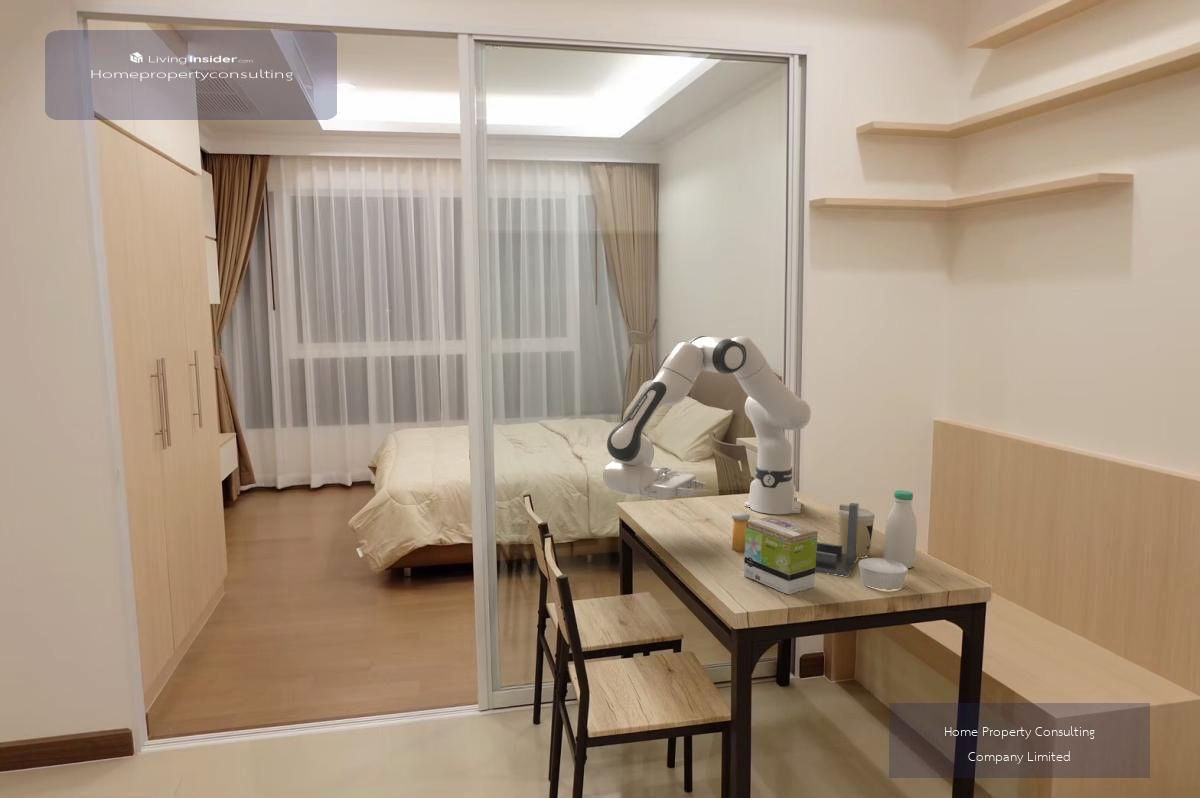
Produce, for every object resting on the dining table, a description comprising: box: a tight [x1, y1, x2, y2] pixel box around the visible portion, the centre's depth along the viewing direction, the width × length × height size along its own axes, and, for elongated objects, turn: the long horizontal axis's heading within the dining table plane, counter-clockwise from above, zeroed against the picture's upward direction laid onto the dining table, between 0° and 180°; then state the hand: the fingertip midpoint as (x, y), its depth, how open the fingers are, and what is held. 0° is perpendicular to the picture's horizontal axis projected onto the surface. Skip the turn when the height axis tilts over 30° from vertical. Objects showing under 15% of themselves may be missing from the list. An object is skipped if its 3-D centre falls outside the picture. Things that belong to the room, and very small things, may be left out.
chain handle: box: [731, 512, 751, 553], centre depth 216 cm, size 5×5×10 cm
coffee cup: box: [838, 507, 875, 558], centre depth 214 cm, size 9×9×12 cm
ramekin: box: [858, 557, 909, 590], centre depth 191 cm, size 11×11×5 cm
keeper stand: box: [815, 502, 860, 577], centre depth 204 cm, size 15×12×17 cm
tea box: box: [743, 515, 819, 595], centre depth 191 cm, size 15×10×15 cm
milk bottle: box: [883, 490, 918, 569], centre depth 205 cm, size 8×8×20 cm
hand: (700, 489), depth 220 cm, fingers open, 8 cm apart
